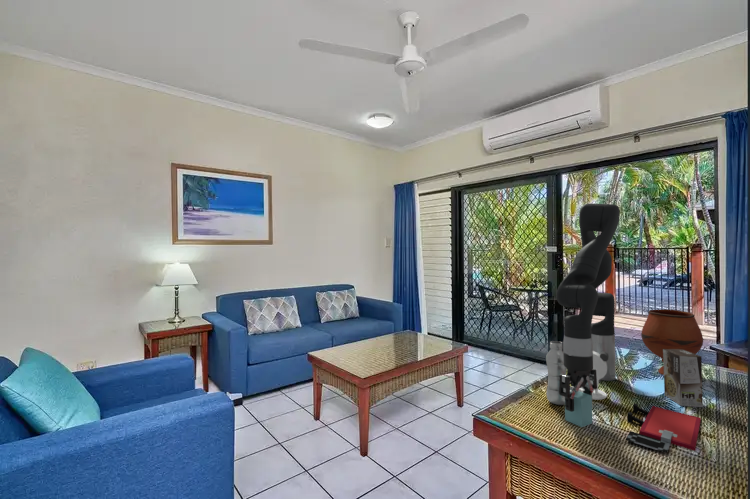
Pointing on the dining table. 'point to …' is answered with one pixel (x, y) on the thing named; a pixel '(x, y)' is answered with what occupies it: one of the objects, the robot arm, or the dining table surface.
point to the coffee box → (683, 377)
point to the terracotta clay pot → (671, 332)
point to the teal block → (580, 410)
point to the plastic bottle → (555, 372)
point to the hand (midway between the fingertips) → (578, 407)
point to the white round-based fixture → (599, 373)
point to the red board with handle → (664, 429)
